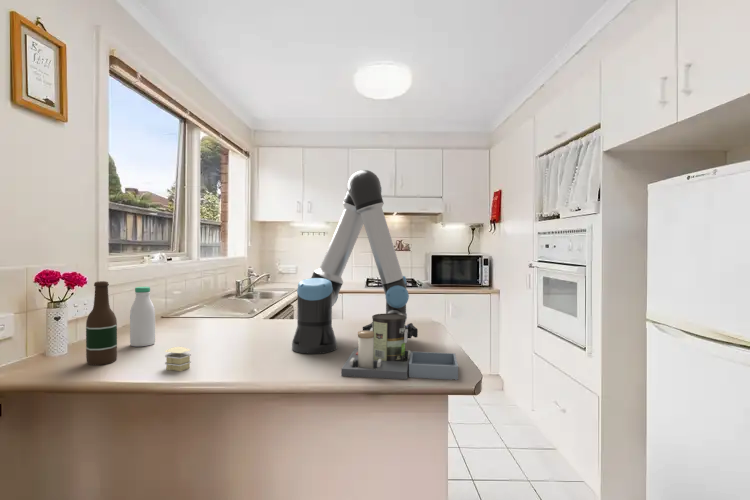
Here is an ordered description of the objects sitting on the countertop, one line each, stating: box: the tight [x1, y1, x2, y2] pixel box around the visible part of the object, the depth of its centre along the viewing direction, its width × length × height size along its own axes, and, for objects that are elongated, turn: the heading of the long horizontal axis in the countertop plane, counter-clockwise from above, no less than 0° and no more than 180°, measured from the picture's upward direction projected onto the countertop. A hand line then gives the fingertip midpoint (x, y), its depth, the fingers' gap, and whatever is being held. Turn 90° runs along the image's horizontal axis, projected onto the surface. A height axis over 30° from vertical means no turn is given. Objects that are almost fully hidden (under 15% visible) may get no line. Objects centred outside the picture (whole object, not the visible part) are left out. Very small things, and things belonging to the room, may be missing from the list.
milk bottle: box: [129, 286, 156, 348], centre depth 148 cm, size 8×8×20 cm
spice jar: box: [357, 330, 374, 369], centre depth 120 cm, size 5×5×11 cm
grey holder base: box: [340, 347, 411, 380], centre depth 126 cm, size 18×22×3 cm
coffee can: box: [371, 313, 407, 362], centre depth 130 cm, size 10×10×14 cm
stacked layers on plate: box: [164, 346, 192, 372], centre depth 122 cm, size 10×9×6 cm
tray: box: [408, 350, 459, 381], centre depth 122 cm, size 13×13×4 cm
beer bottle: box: [85, 280, 118, 366], centre depth 126 cm, size 8×8×24 cm
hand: (387, 337), depth 126 cm, fingers closed on coffee can, 10 cm apart
